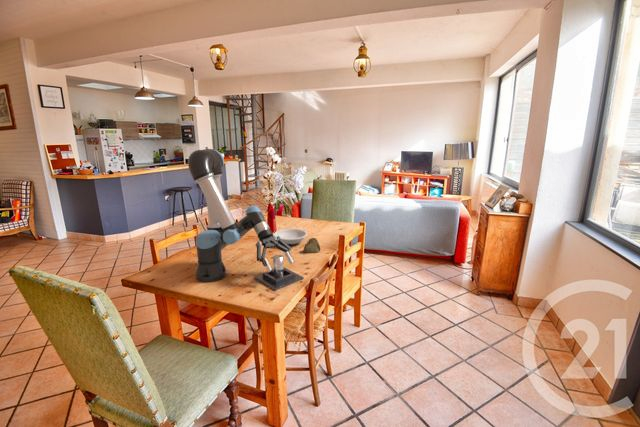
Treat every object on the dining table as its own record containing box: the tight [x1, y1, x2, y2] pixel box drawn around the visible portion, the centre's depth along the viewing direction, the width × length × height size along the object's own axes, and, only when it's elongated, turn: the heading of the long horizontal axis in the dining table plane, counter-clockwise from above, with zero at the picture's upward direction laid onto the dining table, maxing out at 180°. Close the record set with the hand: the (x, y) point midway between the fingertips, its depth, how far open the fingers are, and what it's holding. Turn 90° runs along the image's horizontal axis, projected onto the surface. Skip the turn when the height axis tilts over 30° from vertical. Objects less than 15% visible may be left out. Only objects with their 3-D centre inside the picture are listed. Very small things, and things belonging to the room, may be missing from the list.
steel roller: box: [272, 254, 285, 279], centre depth 154 cm, size 5×5×11 cm
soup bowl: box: [272, 228, 308, 245], centre depth 208 cm, size 24×24×7 cm
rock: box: [302, 237, 321, 253], centre depth 193 cm, size 11×9×10 cm
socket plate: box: [254, 266, 305, 292], centre depth 155 cm, size 18×18×3 cm
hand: (281, 267), depth 152 cm, fingers open, 13 cm apart
